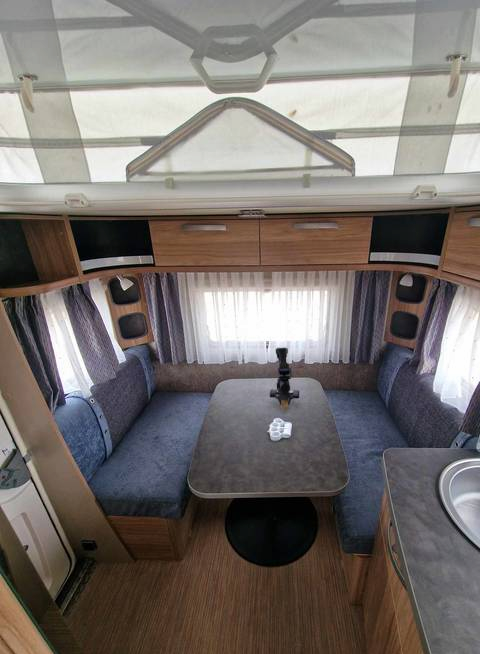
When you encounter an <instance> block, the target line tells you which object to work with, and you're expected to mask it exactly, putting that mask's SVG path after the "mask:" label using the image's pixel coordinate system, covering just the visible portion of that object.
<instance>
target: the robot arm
mask: <svg viewBox="0 0 480 654" xmlns="http://www.w3.org/2000/svg"><path fill="white" fill-rule="evenodd" d="M275 355H276V358H277V359H278V368H277V377H278V378H277V382H276V389H270V391H269V398H275V399H277V401H278V403H279V405H280V406H281V400H285V401H286V400H288V406H290V404H291V401H292V400H294V399H300V390H298V389H297V390H296V389H293V390H292V391H291V384H290V380H292V374H293V373H292V369H291V367H290V364H289V363H288V362H287V361H288V360H287V357H288V355H289V348H288V347H287V346H280V347H277V348H275Z"/></svg>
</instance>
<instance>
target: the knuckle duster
mask: <svg viewBox="0 0 480 654" xmlns="http://www.w3.org/2000/svg"><path fill="white" fill-rule="evenodd" d="M292 426H293V424H292V422H290V421H289V422H288V421H284V420H283V418H278V417H276V418H274V419H273V421H272V422H271V423H270V424H269V425H268V427H269V428H268V430H267V431H266V432H267V433H269V437H270V440H271V441H273V442H277V441H280V440H281V439H289V438H291V435H292Z"/></svg>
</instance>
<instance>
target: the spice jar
mask: <svg viewBox="0 0 480 654" xmlns="http://www.w3.org/2000/svg"><path fill="white" fill-rule="evenodd" d="M288 402H289V399H288V400H286V401H285V400H281V405H280V407H281V409H282V410H288V409H289V405H288Z"/></svg>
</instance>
